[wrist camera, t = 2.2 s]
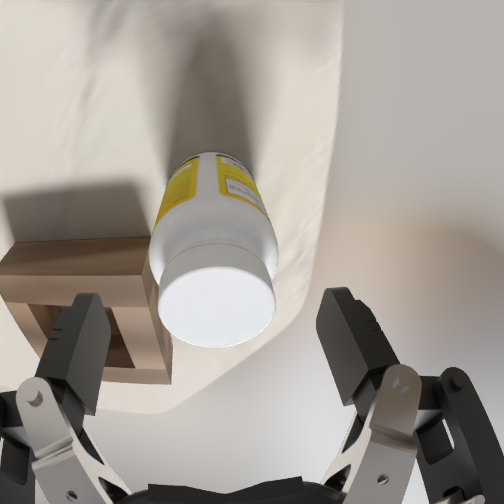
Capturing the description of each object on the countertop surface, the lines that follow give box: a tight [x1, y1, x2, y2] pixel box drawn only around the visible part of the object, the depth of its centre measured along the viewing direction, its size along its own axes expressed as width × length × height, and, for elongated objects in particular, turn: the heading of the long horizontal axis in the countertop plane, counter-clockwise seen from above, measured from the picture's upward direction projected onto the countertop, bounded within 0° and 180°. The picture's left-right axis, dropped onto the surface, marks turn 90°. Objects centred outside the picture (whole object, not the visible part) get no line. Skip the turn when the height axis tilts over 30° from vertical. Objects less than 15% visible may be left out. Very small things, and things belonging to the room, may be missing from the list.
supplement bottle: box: [149, 152, 279, 347], centre depth 13 cm, size 5×5×10 cm
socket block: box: [0, 237, 173, 385], centre depth 19 cm, size 12×12×4 cm
